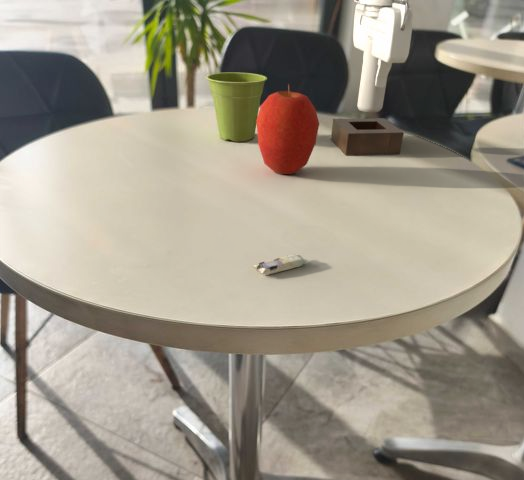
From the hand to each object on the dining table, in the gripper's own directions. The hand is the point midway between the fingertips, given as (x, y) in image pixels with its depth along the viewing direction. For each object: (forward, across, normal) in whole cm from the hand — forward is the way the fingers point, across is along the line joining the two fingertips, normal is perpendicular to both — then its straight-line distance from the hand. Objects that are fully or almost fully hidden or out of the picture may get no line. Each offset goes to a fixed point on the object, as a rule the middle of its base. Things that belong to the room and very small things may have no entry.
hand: (373, 83), depth 93 cm
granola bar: (+12, -48, +26) cm, 56 cm away
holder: (+11, 0, 0) cm, 11 cm away
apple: (+12, -14, +19) cm, 26 cm away
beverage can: (+5, 0, 0) cm, 5 cm away
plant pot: (+12, +8, +25) cm, 29 cm away
